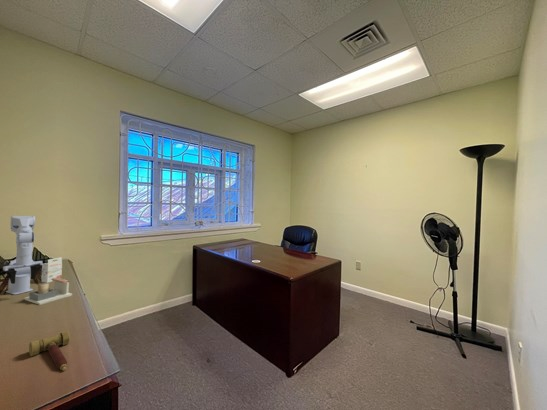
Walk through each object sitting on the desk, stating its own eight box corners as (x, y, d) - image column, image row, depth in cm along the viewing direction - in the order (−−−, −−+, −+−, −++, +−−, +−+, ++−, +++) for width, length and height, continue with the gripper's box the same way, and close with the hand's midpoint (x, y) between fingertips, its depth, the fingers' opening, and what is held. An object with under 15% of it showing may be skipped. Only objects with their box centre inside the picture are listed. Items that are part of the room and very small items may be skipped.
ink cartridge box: (55, 278, 157) (56, 256, 157) (61, 279, 156) (62, 257, 156) (40, 282, 148) (42, 259, 148) (46, 283, 147) (48, 259, 147)
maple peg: (36, 297, 123) (36, 284, 123) (45, 295, 126) (46, 282, 126) (39, 299, 121) (40, 285, 121) (49, 296, 125) (50, 283, 125)
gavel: (85, 354, 77) (43, 371, 69) (84, 368, 77) (41, 386, 69) (66, 328, 89) (29, 340, 81) (66, 340, 89) (28, 352, 81)
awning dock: (24, 299, 122) (25, 283, 122) (56, 291, 135) (57, 276, 135) (39, 304, 117) (40, 287, 117) (72, 295, 130) (72, 280, 130)
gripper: (9, 258, 115) (7, 286, 115) (46, 253, 128) (45, 278, 128) (1, 257, 117) (0, 284, 117) (38, 252, 131) (37, 276, 131)
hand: (23, 281), depth 123 cm, fingers open, 7 cm apart
